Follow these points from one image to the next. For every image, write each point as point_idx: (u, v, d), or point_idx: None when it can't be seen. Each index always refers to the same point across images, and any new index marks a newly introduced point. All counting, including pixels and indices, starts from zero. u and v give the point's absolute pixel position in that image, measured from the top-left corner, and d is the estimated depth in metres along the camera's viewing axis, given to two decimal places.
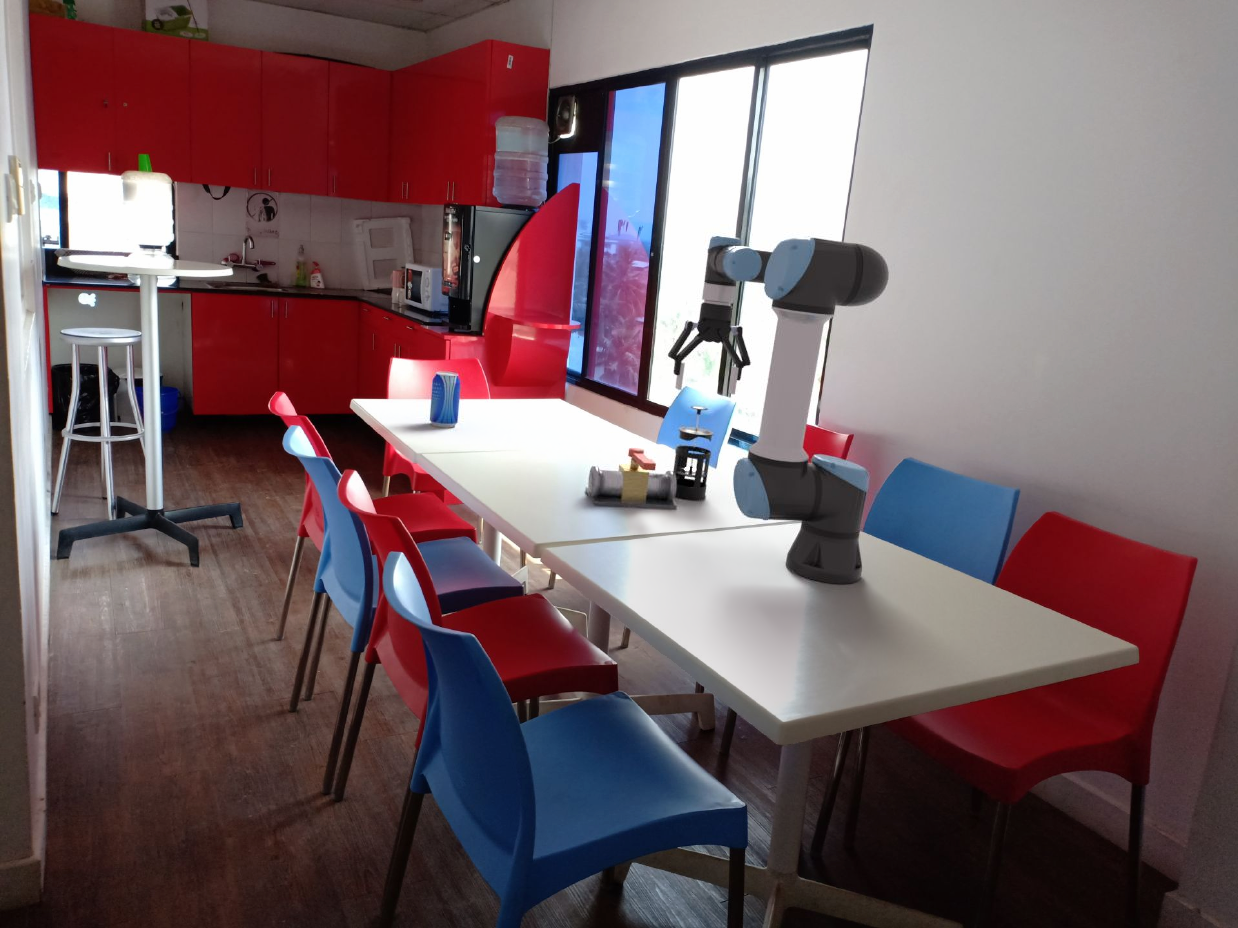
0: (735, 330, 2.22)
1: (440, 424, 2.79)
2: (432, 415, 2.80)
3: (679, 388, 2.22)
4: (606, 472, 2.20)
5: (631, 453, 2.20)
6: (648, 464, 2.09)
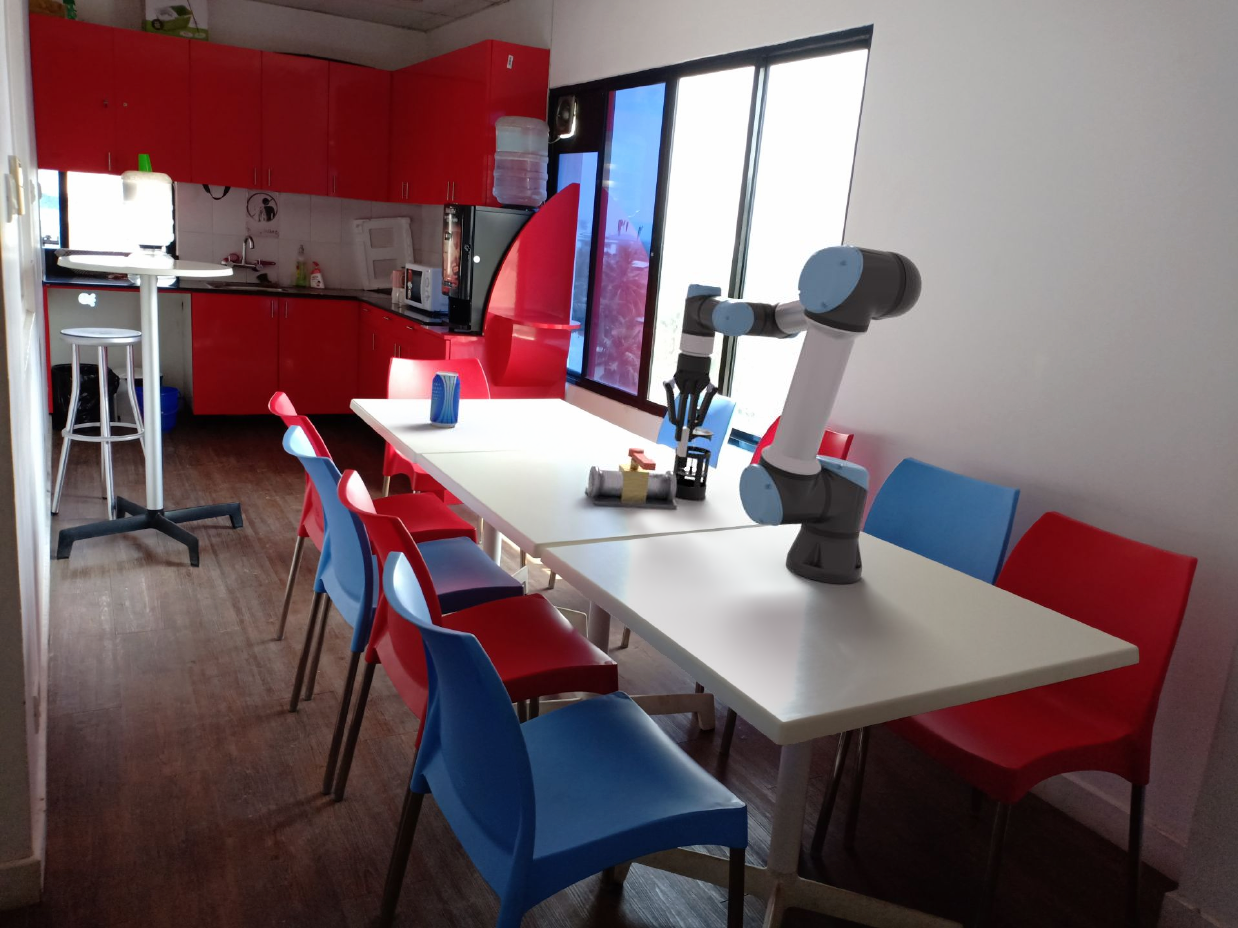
0: (711, 388, 2.10)
1: (440, 424, 2.79)
2: (432, 415, 2.80)
3: (680, 455, 2.12)
4: (606, 472, 2.20)
5: (631, 453, 2.20)
6: (648, 464, 2.09)
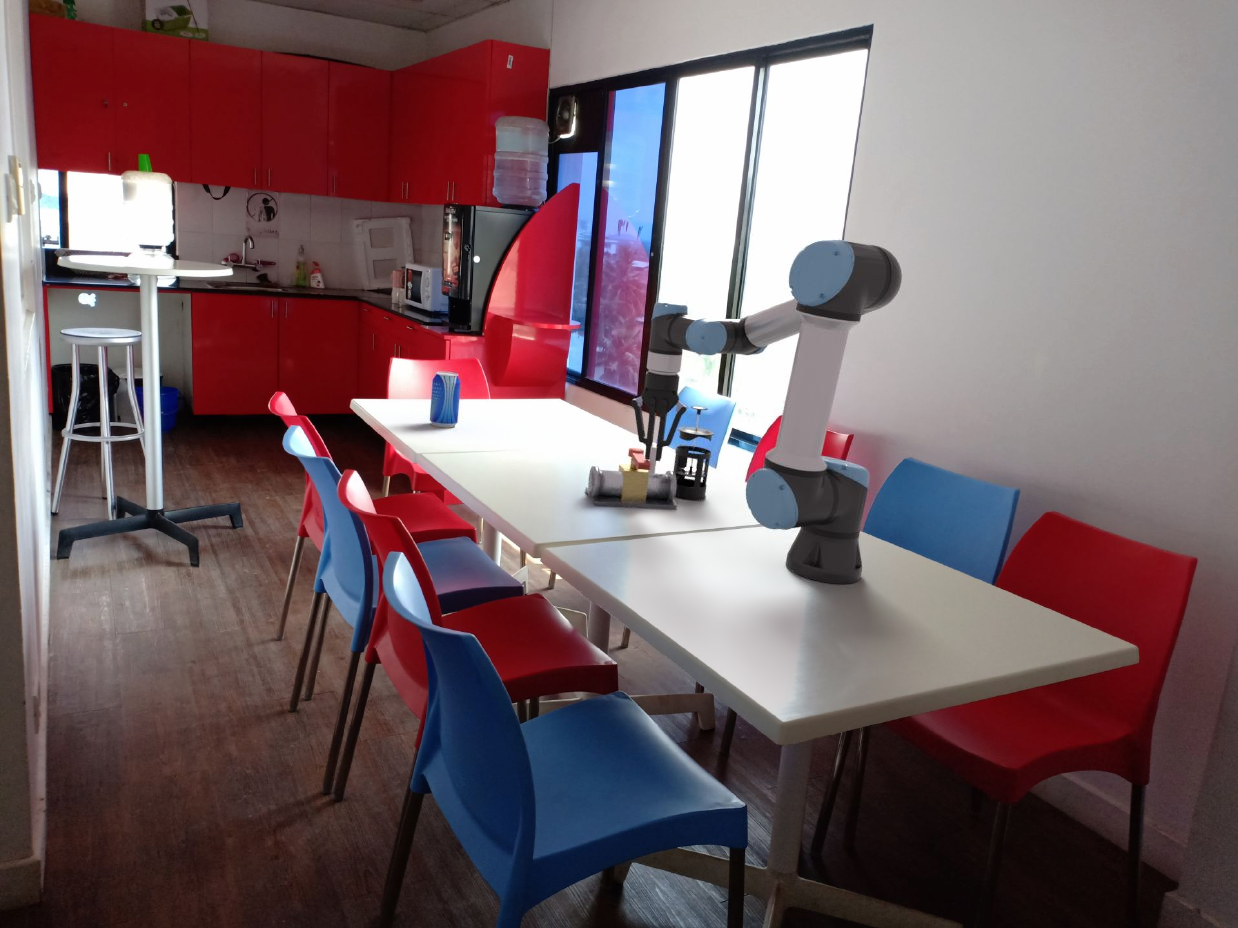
0: (679, 407, 2.07)
1: (440, 424, 2.79)
2: (432, 415, 2.80)
3: (648, 473, 2.11)
4: (606, 472, 2.20)
5: (630, 453, 2.20)
6: (642, 464, 2.09)
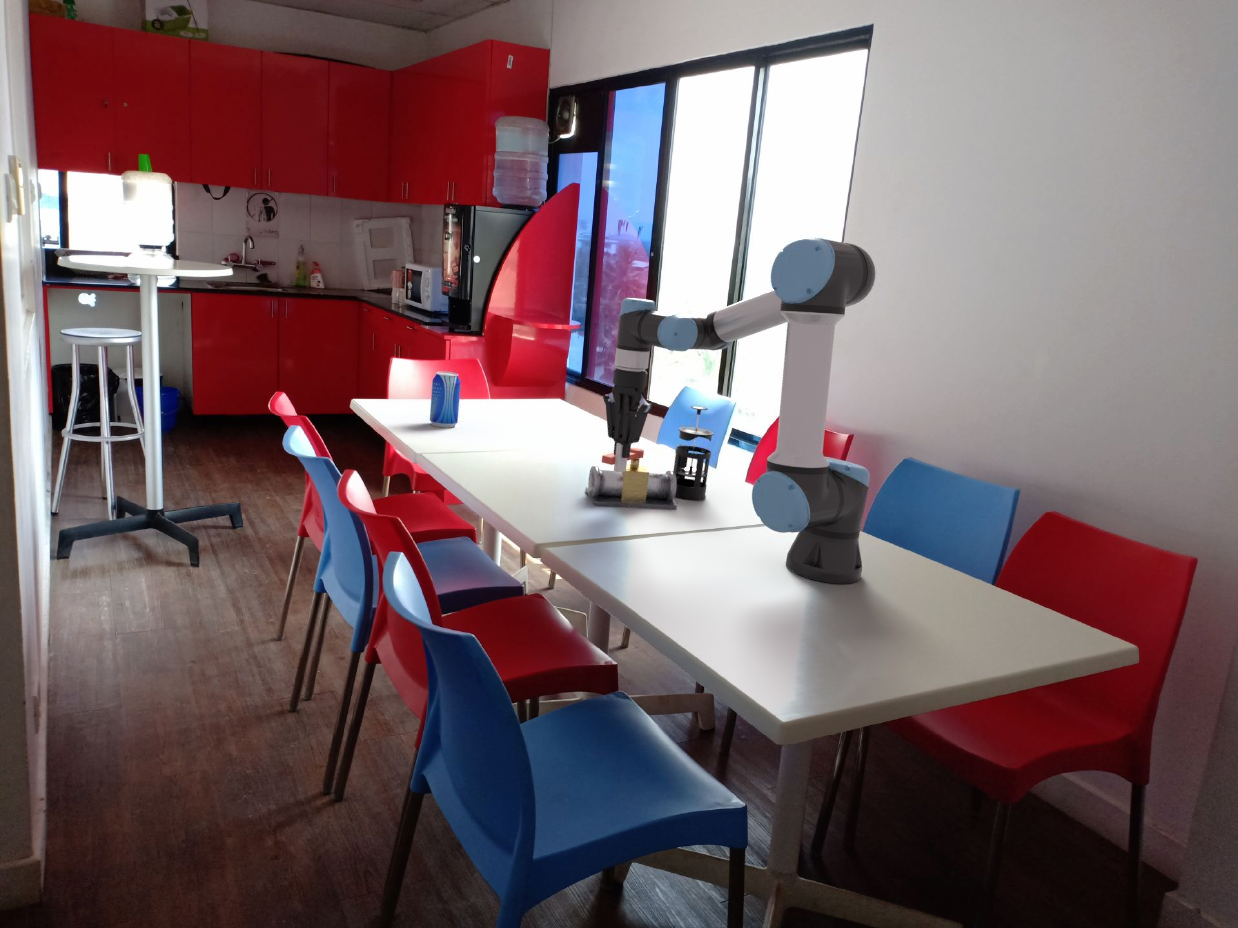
0: None
1: (440, 424, 2.79)
2: (432, 415, 2.80)
3: (614, 469, 2.11)
4: (606, 472, 2.20)
5: None
6: (606, 457, 2.10)
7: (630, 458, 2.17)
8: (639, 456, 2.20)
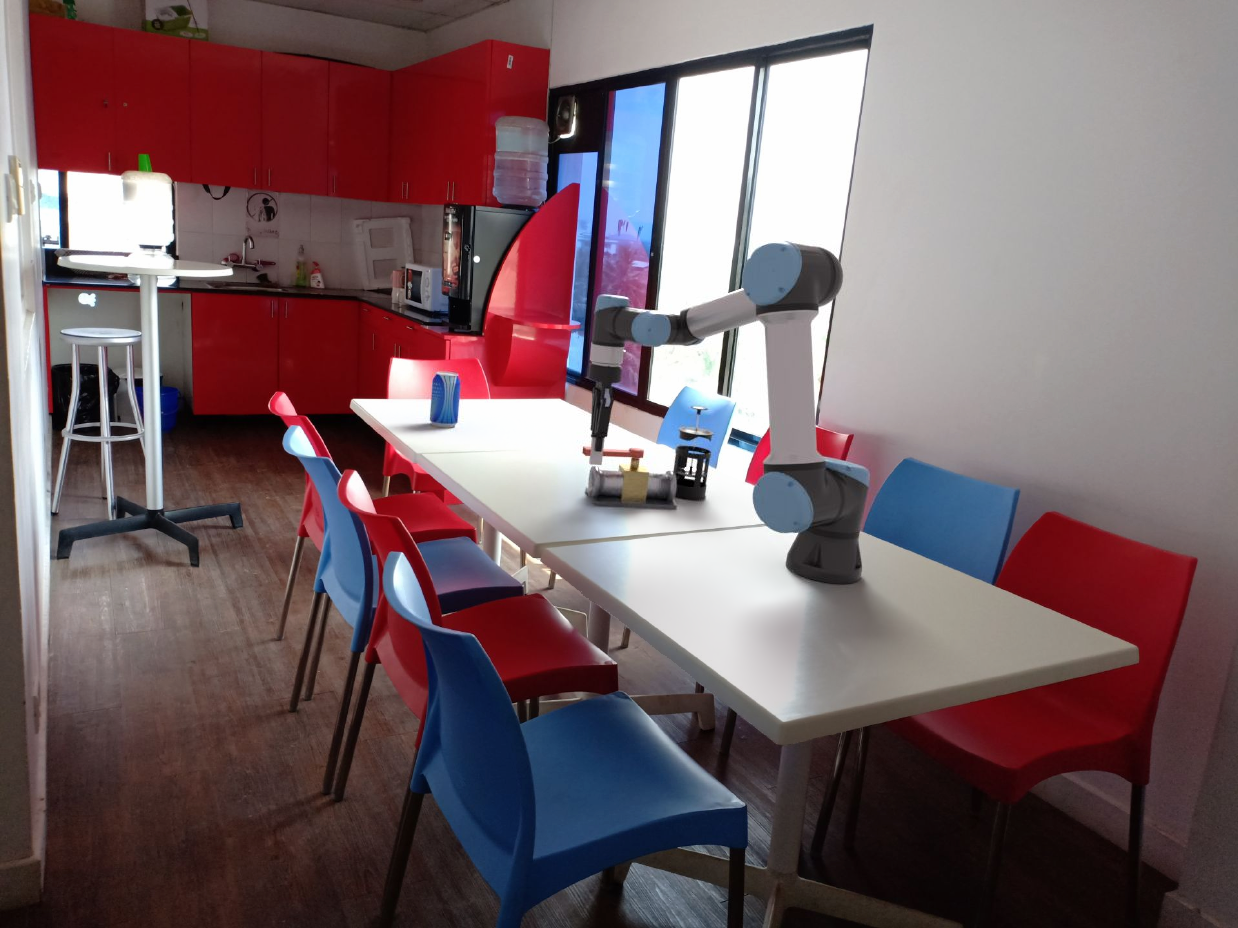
0: None
1: (440, 424, 2.79)
2: (432, 415, 2.80)
3: (589, 461, 2.16)
4: (606, 472, 2.20)
5: None
6: (584, 448, 2.17)
7: (619, 455, 2.19)
8: (634, 456, 2.20)
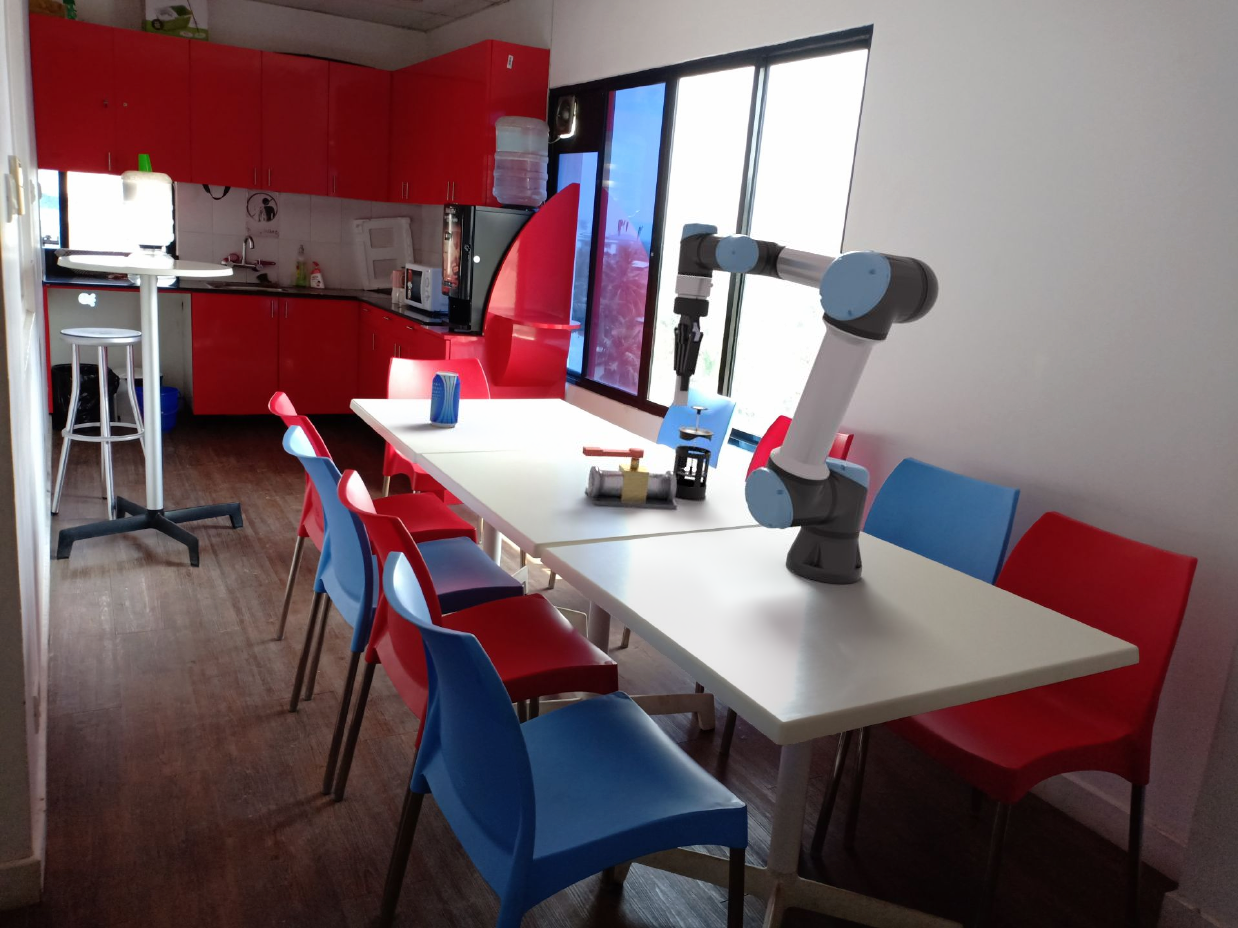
0: None
1: (440, 424, 2.79)
2: (432, 415, 2.80)
3: (673, 403, 2.04)
4: (606, 472, 2.20)
5: None
6: (584, 448, 2.17)
7: (619, 455, 2.19)
8: (634, 456, 2.20)
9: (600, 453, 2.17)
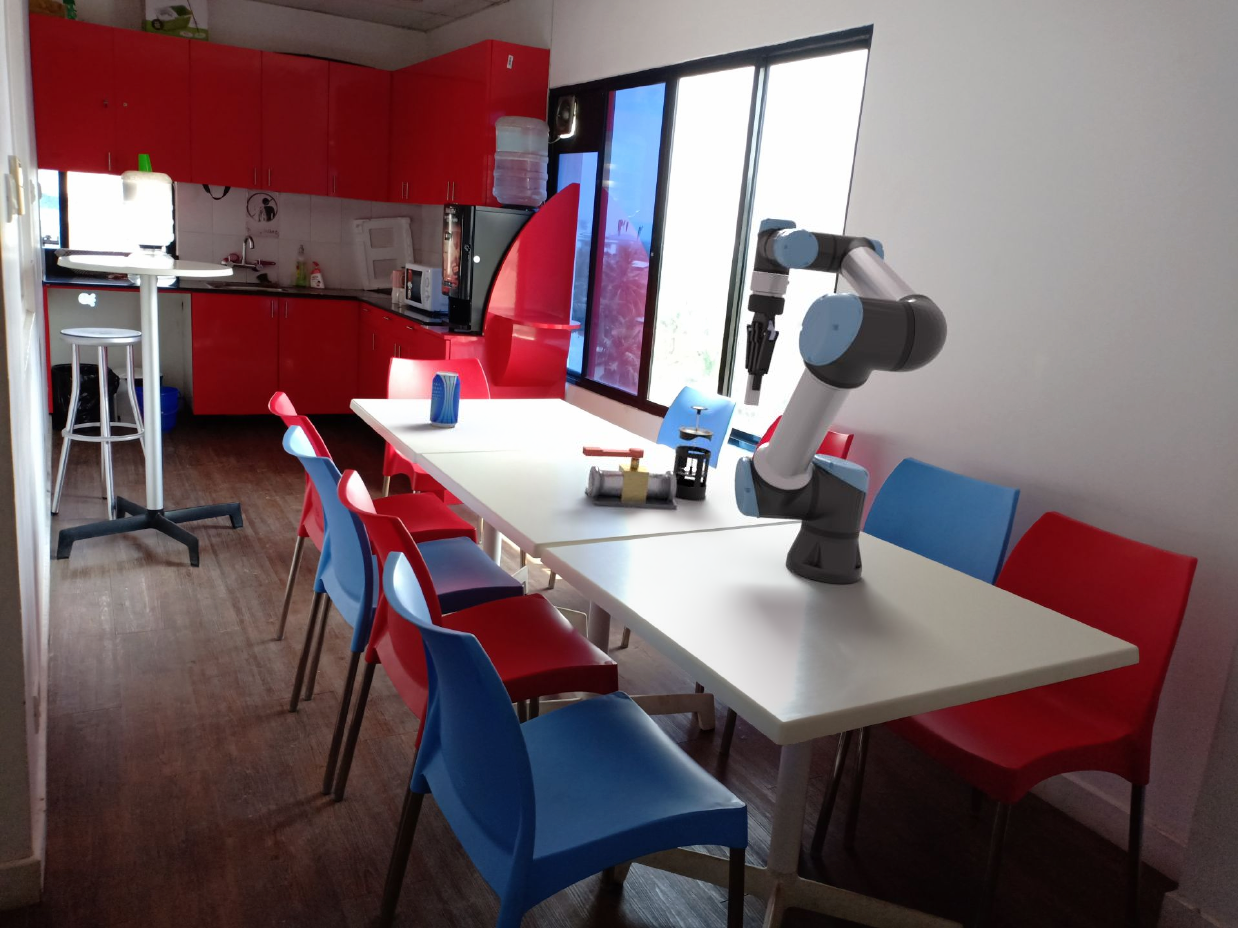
0: None
1: (440, 424, 2.79)
2: (432, 415, 2.80)
3: (744, 402, 2.00)
4: (606, 472, 2.20)
5: None
6: (584, 448, 2.17)
7: (619, 455, 2.19)
8: (634, 456, 2.20)
9: (600, 453, 2.17)
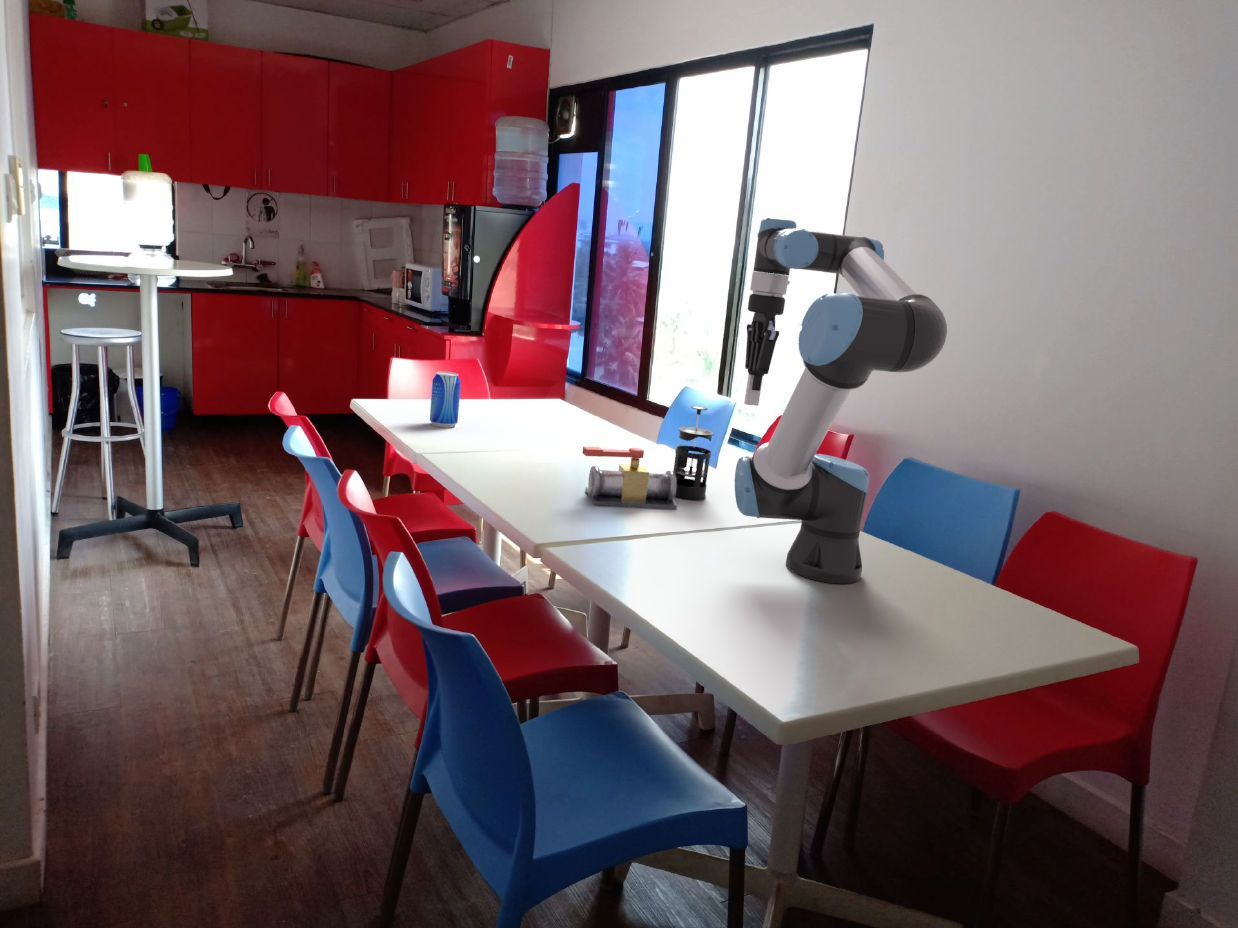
0: None
1: (440, 424, 2.79)
2: (432, 415, 2.80)
3: (744, 402, 2.00)
4: (606, 472, 2.20)
5: None
6: (584, 448, 2.17)
7: (619, 455, 2.19)
8: (634, 456, 2.20)
9: (600, 453, 2.17)
